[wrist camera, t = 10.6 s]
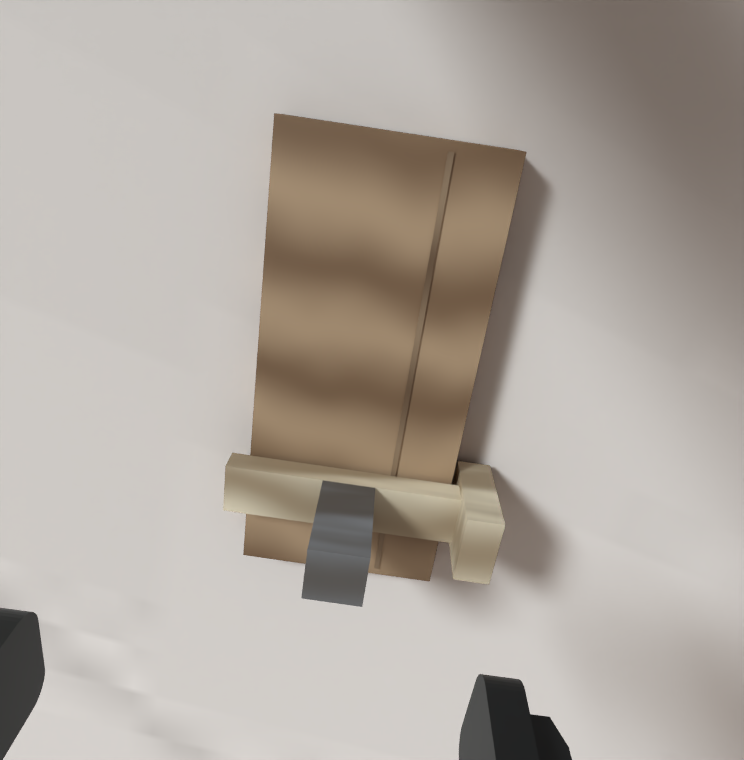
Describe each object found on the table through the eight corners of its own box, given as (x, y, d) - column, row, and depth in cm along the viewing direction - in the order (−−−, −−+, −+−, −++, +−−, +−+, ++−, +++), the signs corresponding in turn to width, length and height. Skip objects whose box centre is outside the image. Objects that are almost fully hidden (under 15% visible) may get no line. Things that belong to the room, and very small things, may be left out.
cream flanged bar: (241, 429, 37) (191, 524, 28) (489, 465, 37) (517, 570, 28) (237, 484, 39) (189, 590, 30) (476, 518, 39) (498, 633, 30)
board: (281, 114, 30) (274, 113, 28) (518, 150, 30) (527, 152, 28) (250, 535, 40) (243, 555, 38) (428, 560, 41) (429, 582, 39)
